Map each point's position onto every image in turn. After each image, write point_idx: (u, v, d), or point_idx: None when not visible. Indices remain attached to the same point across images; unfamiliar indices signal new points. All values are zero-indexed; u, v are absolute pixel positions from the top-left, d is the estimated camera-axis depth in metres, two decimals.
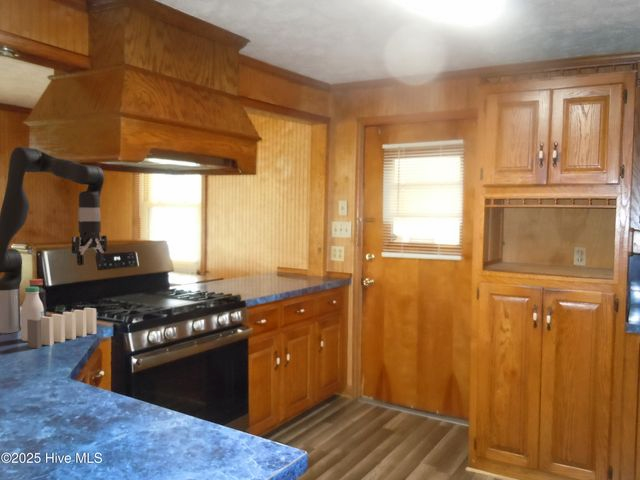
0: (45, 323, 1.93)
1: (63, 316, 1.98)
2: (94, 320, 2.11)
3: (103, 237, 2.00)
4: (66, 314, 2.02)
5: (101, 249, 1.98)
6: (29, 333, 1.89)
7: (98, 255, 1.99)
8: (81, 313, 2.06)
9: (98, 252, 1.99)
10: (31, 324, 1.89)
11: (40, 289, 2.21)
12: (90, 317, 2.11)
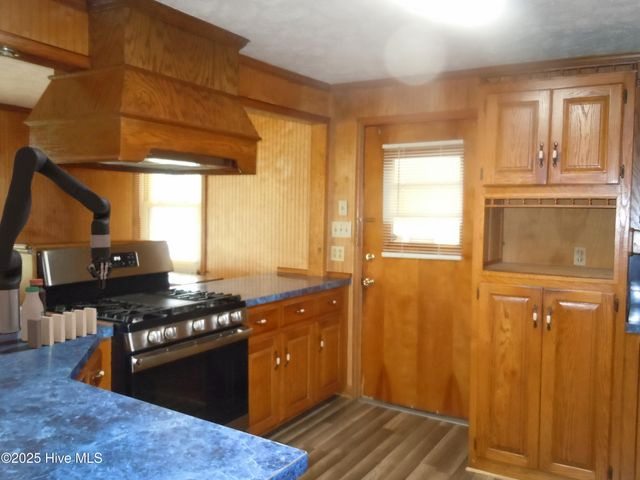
0: (45, 323, 1.93)
1: (63, 316, 1.98)
2: (94, 320, 2.11)
3: (112, 265, 2.21)
4: (66, 314, 2.02)
5: (105, 275, 2.17)
6: (29, 333, 1.89)
7: None
8: (81, 313, 2.06)
9: None
10: (31, 324, 1.89)
11: (40, 289, 2.21)
12: (90, 317, 2.11)
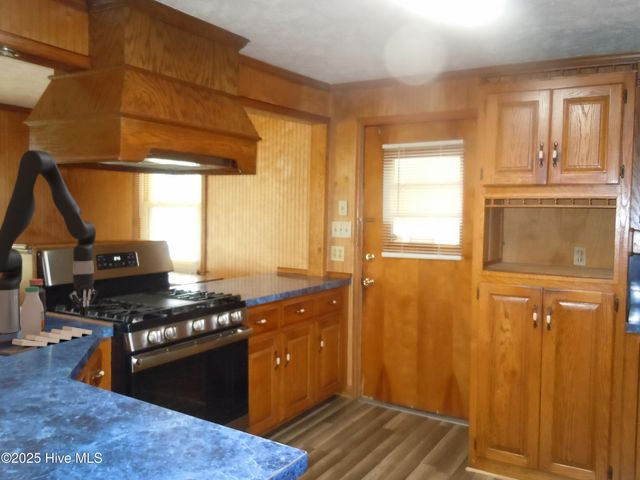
0: None
1: (36, 337, 1.88)
2: (81, 331, 2.05)
3: (95, 291, 2.13)
4: (44, 336, 1.94)
5: (88, 302, 2.10)
6: None
7: None
8: None
9: None
10: None
11: (40, 289, 2.21)
12: None
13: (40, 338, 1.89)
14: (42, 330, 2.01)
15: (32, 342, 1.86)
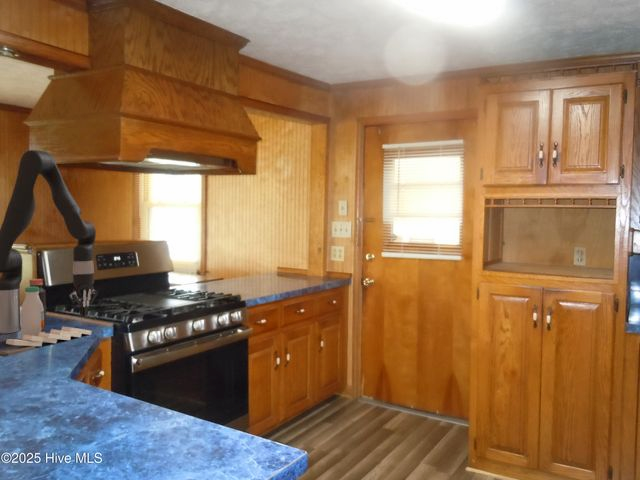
0: None
1: (32, 337, 1.87)
2: (80, 331, 2.05)
3: (95, 291, 2.13)
4: None
5: (88, 302, 2.10)
6: None
7: None
8: (60, 334, 1.97)
9: None
10: None
11: (40, 289, 2.21)
12: (75, 332, 2.05)
13: (36, 338, 1.89)
14: (42, 330, 2.01)
15: (25, 342, 1.85)
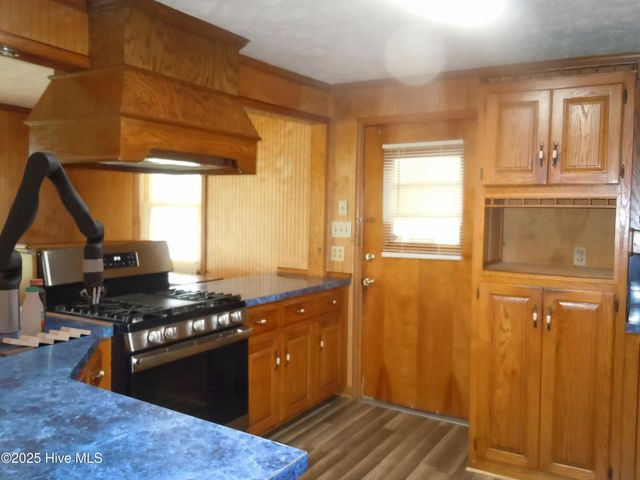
0: None
1: (29, 338, 1.86)
2: (79, 331, 2.05)
3: (104, 289, 2.18)
4: (41, 337, 1.93)
5: (97, 299, 2.14)
6: None
7: None
8: None
9: None
10: None
11: (40, 289, 2.21)
12: (74, 332, 2.04)
13: (33, 339, 1.88)
14: (42, 330, 2.01)
15: (22, 341, 1.84)
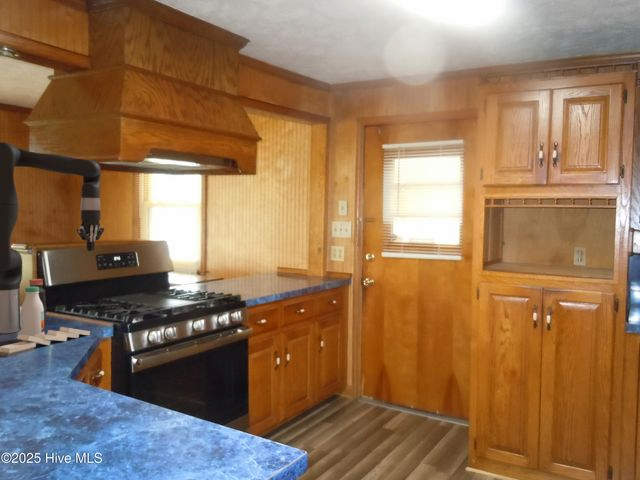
0: None
1: (29, 337, 1.85)
2: (78, 332, 2.04)
3: (101, 228, 2.25)
4: None
5: (94, 238, 2.21)
6: None
7: None
8: (56, 335, 1.97)
9: None
10: None
11: (40, 289, 2.21)
12: None
13: (33, 338, 1.86)
14: (42, 330, 2.01)
15: (20, 347, 1.81)
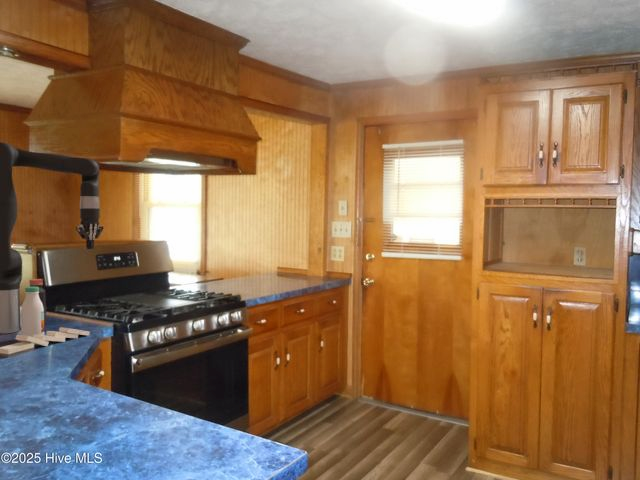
0: None
1: (28, 337, 1.83)
2: (78, 332, 2.04)
3: (100, 227, 2.25)
4: None
5: (94, 236, 2.22)
6: None
7: None
8: (55, 336, 1.96)
9: None
10: None
11: (40, 289, 2.21)
12: None
13: (31, 339, 1.85)
14: (42, 330, 2.01)
15: (18, 348, 1.80)
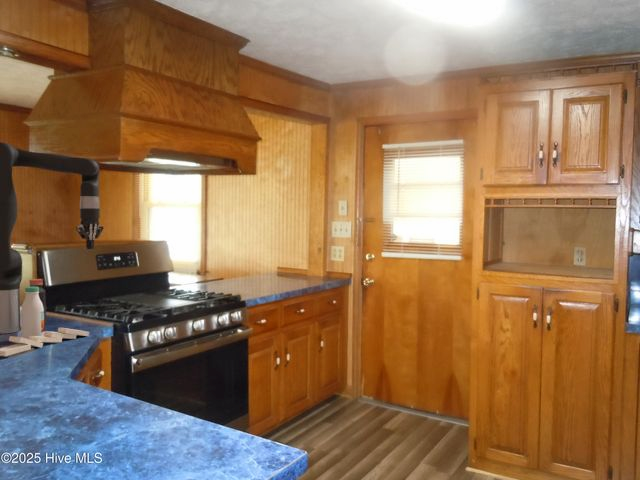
0: None
1: (21, 339, 1.81)
2: (76, 332, 2.03)
3: (100, 227, 2.25)
4: None
5: (94, 236, 2.22)
6: None
7: None
8: None
9: None
10: None
11: (40, 289, 2.21)
12: (71, 333, 2.03)
13: (24, 340, 1.82)
14: (42, 330, 2.01)
15: (15, 350, 1.78)
